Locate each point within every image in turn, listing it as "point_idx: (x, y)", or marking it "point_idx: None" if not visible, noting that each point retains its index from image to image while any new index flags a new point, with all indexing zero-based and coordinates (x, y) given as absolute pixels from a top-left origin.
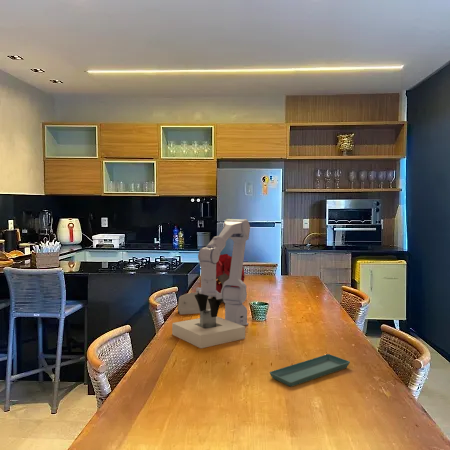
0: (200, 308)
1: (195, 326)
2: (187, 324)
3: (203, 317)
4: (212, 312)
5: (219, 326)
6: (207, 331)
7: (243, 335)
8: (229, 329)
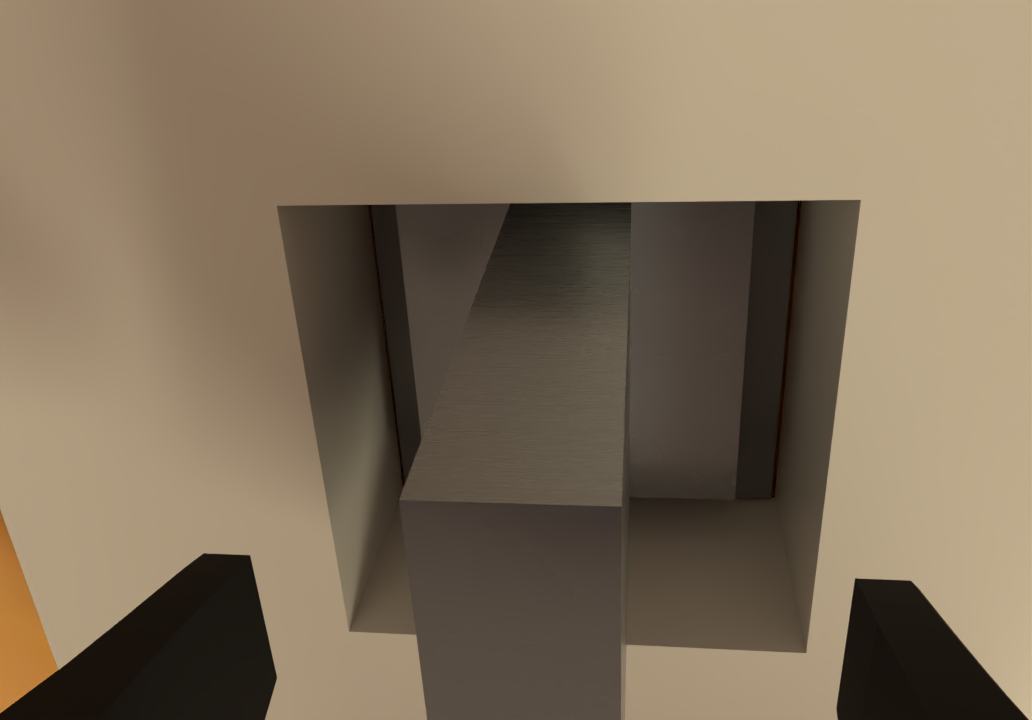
0: (903, 683)
1: (624, 112)
2: (961, 16)
3: (442, 397)
4: (93, 654)
5: (319, 550)
6: (51, 127)
7: None
8: (40, 570)
